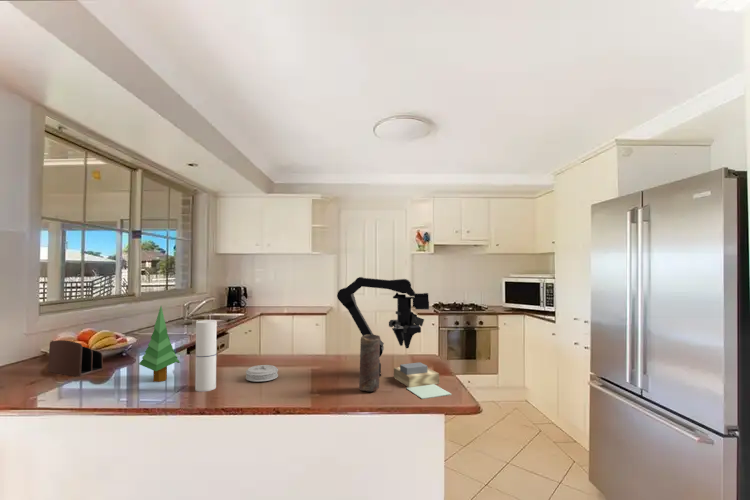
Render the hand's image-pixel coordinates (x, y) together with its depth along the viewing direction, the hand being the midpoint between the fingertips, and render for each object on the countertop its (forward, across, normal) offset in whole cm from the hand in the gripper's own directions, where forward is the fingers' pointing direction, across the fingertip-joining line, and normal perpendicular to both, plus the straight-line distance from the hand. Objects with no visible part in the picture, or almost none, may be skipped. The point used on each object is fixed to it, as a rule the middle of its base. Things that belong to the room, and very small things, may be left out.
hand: (404, 346), depth 167 cm
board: (+12, -8, -2) cm, 14 cm away
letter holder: (+12, +60, +128) cm, 142 cm away
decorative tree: (+12, +32, +93) cm, 99 cm away
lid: (+12, +18, +55) cm, 59 cm away
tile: (+8, -8, 0) cm, 12 cm away
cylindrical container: (+12, +14, +76) cm, 78 cm away
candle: (+12, -12, +20) cm, 26 cm away
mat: (+12, -21, +1) cm, 24 cm away
